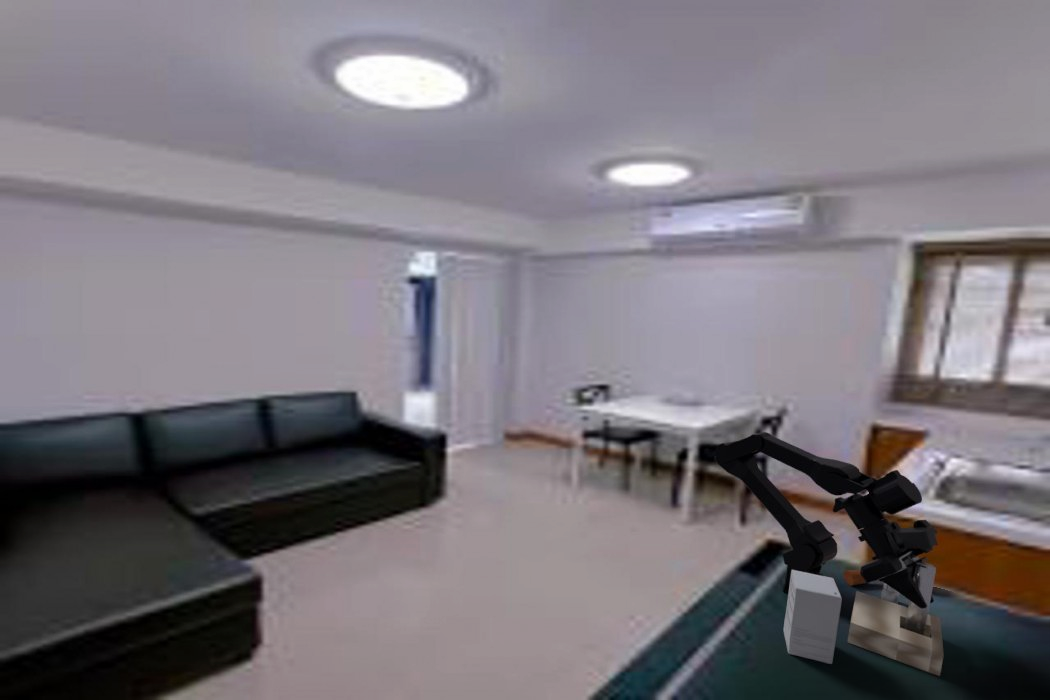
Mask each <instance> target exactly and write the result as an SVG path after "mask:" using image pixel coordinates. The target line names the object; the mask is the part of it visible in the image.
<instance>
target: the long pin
mask: <svg viewBox="0 0 1050 700" xmlns="http://www.w3.org/2000/svg"><path fill="white" fill-rule="evenodd" d="M936 572H937V568H936V566H934V565H932V564H931V563H927V562H926V561H925V562H916V567H915V573H914V578H913V580H914V582H915V584H916V586H917V587H918V589H919V591H920V593H921V595H922V596H923V598H924V600H925V602H926V604H927V607H926V608H923V609H921V608H920V607H918V606H917V605H916V604H914V603H913V602H911V601H910V600H908V606H907V607H908V612H907V617H906V623H905V628H904V629H906V630H909V631H912V632H915V633H918V634H921V635H924V632H925V627H926V621H927V616H928V614H929V610H930V606H931V605H930V604H931V603H930V600H931V594H932V595H933V593H932V592H933V587H934V584H935V583H934V582H935V579H936V578H935V577H936Z"/></svg>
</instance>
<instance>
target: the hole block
mask: <svg viewBox="0 0 1050 700" xmlns="http://www.w3.org/2000/svg"><path fill="white" fill-rule="evenodd" d="M907 612H908V606H905V605H901V604H895V603H892V602H889V601H886V600H883V599H881V597H880V598H879V597H877V596H874V595H870V594H867V593H864V592H860V591H857V590H856V592H855V597H854V602H853V608H852V613H851V618H850V623H849V630H848V636H847V643H848V644H850V645H851V644H852V645H854V646H856V647H860V648H862V649H865V650H866V651H867V650H868V651H870V652H872V653H875V654H879V655H881V656H884V657H886V658H888V659H891V660H895V661H897V662H899V663H903V664H905V665H908V666H910V667H913V668H916V669H918V670H921V671H923V672H927V673H929V674H933V675H936V676H938V677H940V676H941V673H942V665H943V662H944V661H943V660H944V644H943V635H942V634H943V633H942V625H941V618H940V617H938V616H934V615H933V614H932V615H931V614H929V613H928V616H927V621H926V627H925V632H924V635H921V634H918V633H915V632H912V631H909V630H906V629H904V628H905V623H906V617H907Z"/></svg>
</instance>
